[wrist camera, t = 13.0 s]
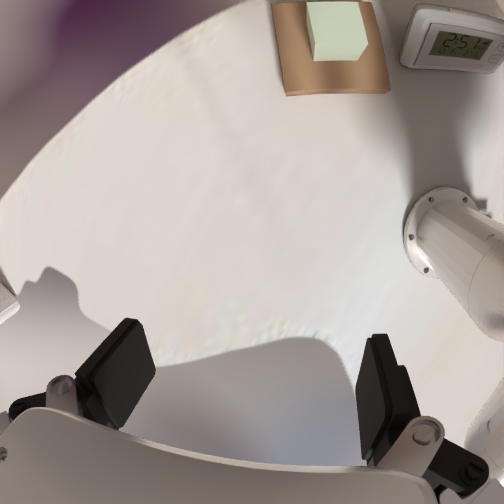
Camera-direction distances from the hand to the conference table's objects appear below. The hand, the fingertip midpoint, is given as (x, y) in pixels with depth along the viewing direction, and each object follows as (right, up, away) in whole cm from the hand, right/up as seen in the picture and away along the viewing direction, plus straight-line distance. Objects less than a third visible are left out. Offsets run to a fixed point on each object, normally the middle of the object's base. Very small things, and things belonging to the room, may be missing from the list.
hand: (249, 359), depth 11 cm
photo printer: (-63, -7, +44) cm, 77 cm away
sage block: (+9, +28, +14) cm, 32 cm away
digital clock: (+25, +30, +13) cm, 42 cm away
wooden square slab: (+9, +29, +16) cm, 34 cm away
